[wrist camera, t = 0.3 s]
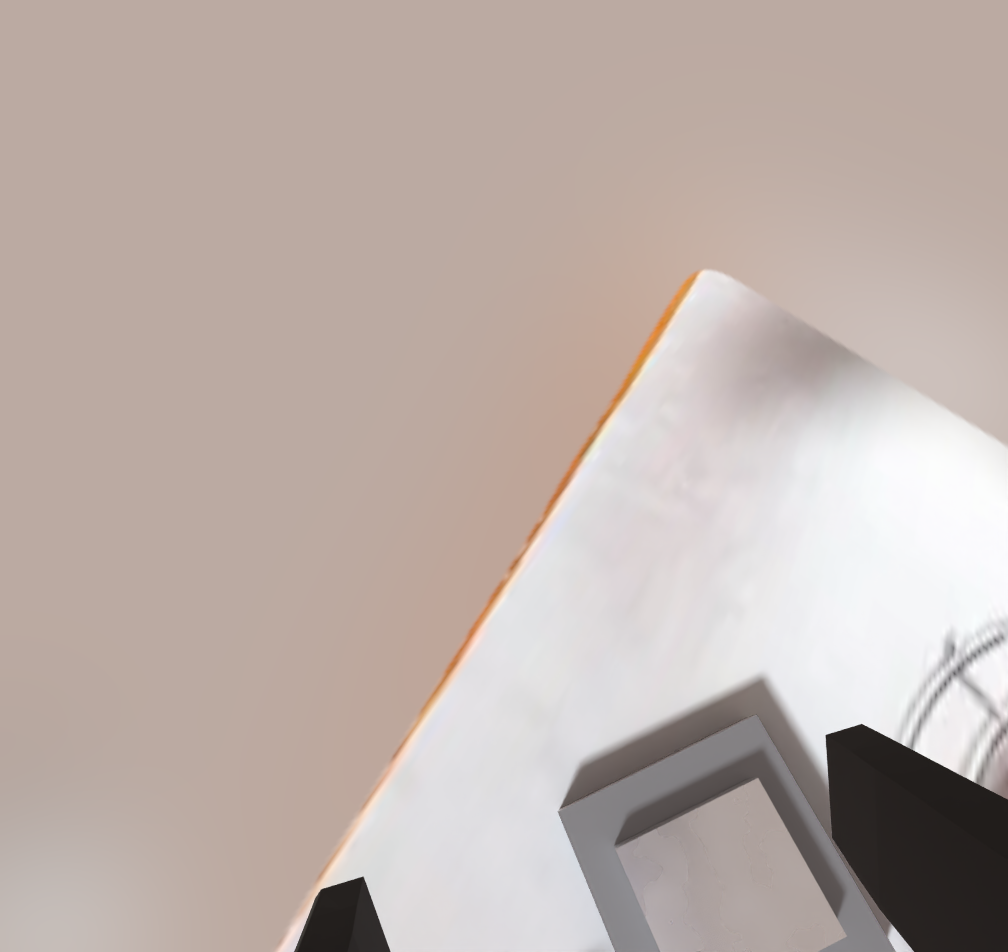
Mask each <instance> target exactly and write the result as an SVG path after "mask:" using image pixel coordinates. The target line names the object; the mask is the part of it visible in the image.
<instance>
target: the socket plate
mask: <svg viewBox="0 0 1008 952" xmlns="http://www.w3.org/2000/svg"><path fill="white" fill-rule="evenodd" d="M751 777H752V778H759V780H760V782H761V784H762V786H763V787H764V789H765V791H766V793H767V794H768V796H769V798H770V800H771V802H772V803H773V805H774V807H775V809H776V811H777V812H778V814H779V816H780V818H781V819H782V821H783V823H784V825H785V827H786V828H787V830H788V832H789V834H790V835H791V837H792V839H793V841H794V843H795V844H796V846H797V848H798V850H799V852H800V853H801V855H802V857H803V859H804V860H805V862H806V864H807V866H808V868H809V869H810V871H811V873H812V875H813V876H814V878H815V880H816V882H817V884H818V885H819V887H820V889H821V891H822V893H823V894H824V896H825V898H826V900H827V901H828V903H829V905H830V907H831V909H832V910H833V912H834V914H835V916H836V917H837V919H838V921H839V923H840V925H841V926H842V928H843V930H844V932H845V934H846V935H847V937H845V938H843V939H841V940H839V941H837V942H835V943H833V944H831V945H830V946H828V947H826V948H824V949H822V950H820V951H818V952H896V951H895V950H894V948H893V946H892V945H891V943H890V941H889V939H888V938H887V936H886V934H885V933H884V931H883V929H882V928H881V926H880V924H879V922H878V921H877V919H876V917H875V916H874V914H873V912H872V910H871V909H870V907H869V905H868V904H867V902H866V900H865V898H864V897H863V895H862V893H861V892H860V890H859V888H858V887H857V885H856V883H855V881H854V880H853V878H852V876H851V875H850V873H849V871H848V869H847V868H846V866H845V864H844V863H843V861H842V859H841V858H840V856H839V854H838V852H837V851H836V849H835V847H834V846H833V844H832V842H831V840H830V839H829V837H828V835H827V834H826V832H825V830H824V829H823V827H822V825H821V823H820V822H819V820H818V818H817V817H816V815H815V813H814V811H813V810H812V808H811V806H810V805H809V803H808V801H807V800H806V798H805V796H804V794H803V793H802V791H801V789H800V788H799V786H798V784H797V782H796V781H795V779H794V777H793V776H792V774H791V772H790V770H789V769H788V767H787V765H786V764H785V762H784V760H783V759H782V757H781V755H780V753H779V752H778V750H777V748H776V747H775V745H774V743H773V741H772V740H771V738H770V736H769V735H768V733H767V731H766V730H765V728H764V726H763V724H762V723H761V721H760V719H759V718H758V716H757V715H753V716H750V717H747V718H745V719H743V720H741V721H738V722H736V723H734V724H732V725H730V726H728V727H726V728H724V729H722V730H720V731H718V732H716V733H714V734H712V735H710V736H708V737H706V738H704V739H702V740H700V741H698V742H696V743H694V744H691V745H689V746H687V747H685V748H683V749H681V750H679V751H677V752H675V753H673V754H671V755H669V756H667V757H665V758H663V759H661V760H659V761H657V762H655V763H653V764H651V765H649V766H647V767H645V768H642V769H640V770H638V771H636V772H634V773H632V774H630V775H628V776H626V777H624V778H622V779H620V780H618V781H616V782H614V783H612V784H610V785H608V786H606V787H604V788H602V789H600V790H598V791H595V792H593V793H591V794H589V795H587V796H585V797H583V798H581V799H579V800H577V801H575V802H573V803H571V804H569V805H567V806H565V807H563V808H561V809H559V811H558V813H559V816H560V818H561V821H562V823H563V825H564V828H565V830H566V833H567V835H568V838H569V840H570V842H571V845H572V847H573V850H574V852H575V855H576V857H577V860H578V862H579V864H580V867H581V869H582V872H583V874H584V877H585V879H586V881H587V884H588V886H589V889H590V891H591V894H592V896H593V898H594V901H595V903H596V906H597V908H598V911H599V913H600V915H601V918H602V920H603V923H604V925H605V928H606V930H607V932H608V935H609V937H610V940H611V942H612V945H613V947H614V950H615V952H660V950H659V948H658V945H657V943H656V941H655V939H654V936H653V934H652V932H651V929H650V927H649V925H648V923H647V920H646V918H645V916H644V914H643V911H642V909H641V907H640V904H639V902H638V900H637V898H636V895H635V893H634V891H633V888H632V886H631V884H630V882H629V879H628V877H627V875H626V873H625V870H624V868H623V866H622V863H621V861H620V859H619V857H618V854H617V852H616V850H615V847H614V845H616V844H618V843H620V842H622V841H624V840H626V839H628V838H630V837H632V836H634V835H636V834H638V833H640V832H642V831H644V830H646V829H648V828H650V827H652V826H654V825H656V824H658V823H660V822H662V821H664V820H666V819H668V818H670V817H672V816H674V815H676V814H678V813H680V812H682V811H684V810H687V809H689V808H691V807H693V806H695V805H697V804H699V803H701V802H703V801H705V800H707V799H709V798H711V797H713V796H715V795H717V794H719V793H721V792H723V791H725V790H727V789H729V788H731V787H733V786H735V785H737V784H739V783H741V782H743V781H745V780H747V779H749V778H751Z"/></svg>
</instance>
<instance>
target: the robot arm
mask: <svg viewBox="0 0 1008 952" xmlns="http://www.w3.org/2000/svg"><path fill="white" fill-rule="evenodd" d="M826 748H827V764H828V779H829V794H830V810H831V825H832V838H833V840H834V841H835V843H836V844H837V846H838V847H839V849H840V850H841V852H842V853H843V855H844V856H845V858H846V859H847V861H848V863H849V864H850V866H851V867H852V869H853V870H854V872H855V873H856V875H857V876H858V878H859V879H860V881H861V882H862V884H863V885H864V887H865V888H866V890H867V891H868V892H869V894H870V895H871V897H872V898H873V900H874V901H875V903H876V904H877V906H878V907H879V909H880V910H881V911H882V912H883V914H884V915H885V916H886V917H887V919H888V920H889V921H890V922H891V924H892V925H893V926H894V927H895V929H896V930H897V931H898V932H899V934H900V935H901V936H902V937H903V939H904V940H905V941H906V942H907V943H908V945H909V946H910V947H911V948H912V950H913V951H914V952H1008V800H1007V799H1006V798H1004V797H1002V796H1000V795H998V794H996V793H994V792H992V791H990V790H988V789H986V788H984V787H982V786H980V785H978V784H976V783H974V782H972V781H970V780H969V779H967V778H965V777H963V776H961V775H959V774H957V773H955V772H953V771H951V770H949V769H948V768H946V767H944V766H942V765H940V764H938V763H936V762H934V761H932V760H930V759H928V758H927V757H925V756H923V755H921V754H919V753H917V752H915V751H913V750H911V749H909V748H908V747H906V746H904V745H902V744H900V743H898V742H896V741H894V740H892V739H890V738H888V737H886V736H885V735H883V734H881V733H879V732H877V731H875V730H873V729H871V728H869V727H867V726H865V725H863V724H860V725H857V726H854V727H850V728H847V729H844V730H841V731H837V732H834V733H831V734H828V735H826ZM294 952H390V949H389V946H388V944H387V941H386V938H385V935H384V932H383V930H382V927H381V924H380V921H379V919H378V916H377V913H376V910H375V907H374V905H373V902H372V899H371V896H370V893H369V891H368V888H367V885H366V882H365V879H364V877H360V878H357V879H354V880H350V881H347V882H344V883H341V884H337V885H334V886H331V887H328V888H324V889H321V891H320V892H319V894H318V895H317V897H316V898H315V901H314V903H313V906H312V908H311V911H310V913H309V916H308V919H307V921H306V924H305V926H304V929H303V931H302V934H301V936H300V939H299V941H298V944H297V946H296V949H295V951H294Z"/></svg>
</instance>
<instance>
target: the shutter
mask: <svg viewBox="0 0 1008 952" xmlns="http://www.w3.org/2000/svg"><path fill="white" fill-rule="evenodd" d="M614 847H615V850H616V852H617V854H618V857H619V859H620V861H621V863H622V866H623V868H624V870H625V873H626V875H627V877H628V879H629V882H630V884H631V886H632V888H633V891H634V893H635V895H636V898H637V900H638V902H639V904H640V907H641V909H642V911H643V914H644V916H645V918H646V920H647V923H648V925H649V927H650V929H651V932H652V934H653V936H654V939H655V941H656V943H657V945H658V948H659V950H660V952H818V951H820V950H822V949H824V948H826V947H828V946H830V945H831V944H833V943H835V942H837V941H839V940H841V939H843V938H845V937H847V935H846V934H845V932H844V930H843V928H842V926H841V925H840V923H839V921H838V919H837V917H836V916H835V914H834V912H833V910H832V909H831V907H830V905H829V903H828V901H827V900H826V898H825V896H824V894H823V893H822V891H821V889H820V887H819V885H818V884H817V882H816V880H815V878H814V876H813V875H812V873H811V871H810V869H809V868H808V866H807V864H806V862H805V860H804V859H803V857H802V855H801V853H800V852H799V850H798V848H797V846H796V844H795V843H794V841H793V839H792V837H791V835H790V834H789V832H788V830H787V828H786V827H785V825H784V823H783V821H782V819H781V818H780V816H779V814H778V812H777V811H776V809H775V807H774V805H773V803H772V802H771V800H770V798H769V796H768V794H767V793H766V791H765V789H764V787H763V786H762V784H761V782H760V780H759V778H752V777H751V778H749V779H747V780H745V781H743V782H741V783H739V784H737V785H735V786H733V787H731V788H729V789H727V790H725V791H723V792H721V793H719V794H717V795H715V796H713V797H711V798H709V799H707V800H705V801H703V802H701V803H699V804H697V805H695V806H693V807H691V808H689V809H687V810H684V811H682V812H680V813H678V814H676V815H674V816H672V817H670V818H668V819H666V820H664V821H662V822H660V823H658V824H656V825H654V826H652V827H650V828H648V829H646V830H644V831H642V832H640V833H638V834H636V835H634V836H632V837H630V838H628V839H626V840H624V841H622V842H620V843H618V844H616V845H614Z"/></svg>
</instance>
